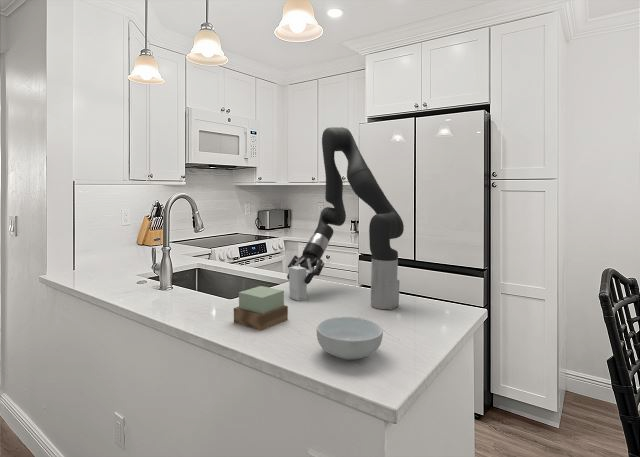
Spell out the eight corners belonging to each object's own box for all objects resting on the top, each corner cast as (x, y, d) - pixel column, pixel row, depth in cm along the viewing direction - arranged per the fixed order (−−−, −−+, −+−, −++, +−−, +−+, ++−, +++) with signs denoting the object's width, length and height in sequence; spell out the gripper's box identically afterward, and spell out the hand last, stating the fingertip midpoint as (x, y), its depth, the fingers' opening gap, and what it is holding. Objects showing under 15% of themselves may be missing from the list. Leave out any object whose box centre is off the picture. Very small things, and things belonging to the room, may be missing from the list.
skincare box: (307, 299, 152) (307, 268, 151) (297, 301, 149) (298, 269, 148) (297, 295, 157) (298, 265, 155) (288, 297, 154) (288, 266, 153)
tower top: (284, 305, 129) (283, 290, 129) (262, 313, 121) (262, 297, 120) (261, 300, 135) (260, 285, 134) (239, 307, 127) (238, 292, 126)
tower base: (287, 321, 130) (287, 306, 129) (261, 332, 120) (261, 315, 119) (260, 313, 137) (260, 299, 136) (233, 323, 127) (233, 308, 126)
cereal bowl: (308, 363, 98) (308, 335, 98) (325, 338, 114) (325, 314, 114) (377, 372, 94) (378, 343, 93) (385, 345, 110) (386, 319, 109)
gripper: (297, 239, 162) (278, 272, 154) (326, 243, 153) (307, 278, 145) (306, 251, 167) (287, 283, 159) (334, 255, 158) (316, 289, 150)
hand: (297, 281), depth 152 cm, fingers open, 8 cm apart
